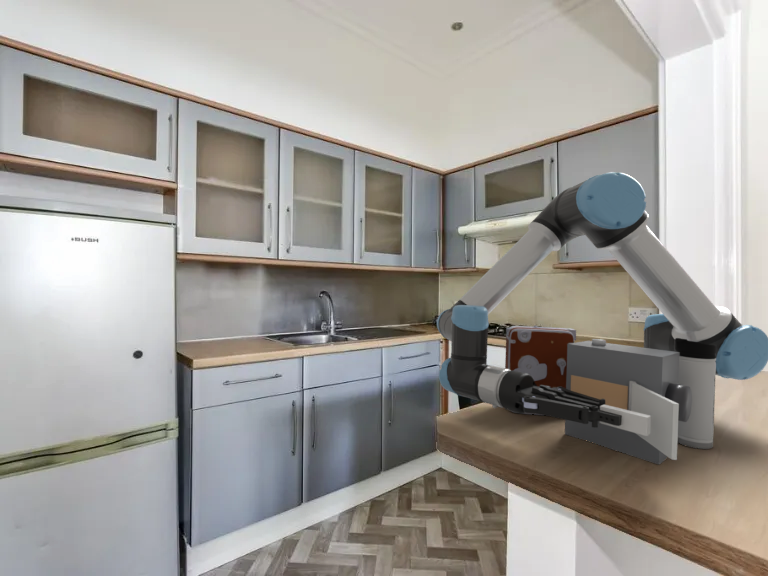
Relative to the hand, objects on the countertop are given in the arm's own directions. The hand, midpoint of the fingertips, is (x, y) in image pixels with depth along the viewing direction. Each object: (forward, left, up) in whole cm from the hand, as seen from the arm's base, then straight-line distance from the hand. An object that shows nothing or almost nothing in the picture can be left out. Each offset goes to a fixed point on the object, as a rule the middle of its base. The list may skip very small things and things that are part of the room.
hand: (648, 425), depth 57 cm
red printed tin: (-5, -33, -9) cm, 35 cm away
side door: (-4, -4, -4) cm, 7 cm away
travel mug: (-23, -14, -9) cm, 28 cm away
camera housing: (-9, -15, -9) cm, 19 cm away
